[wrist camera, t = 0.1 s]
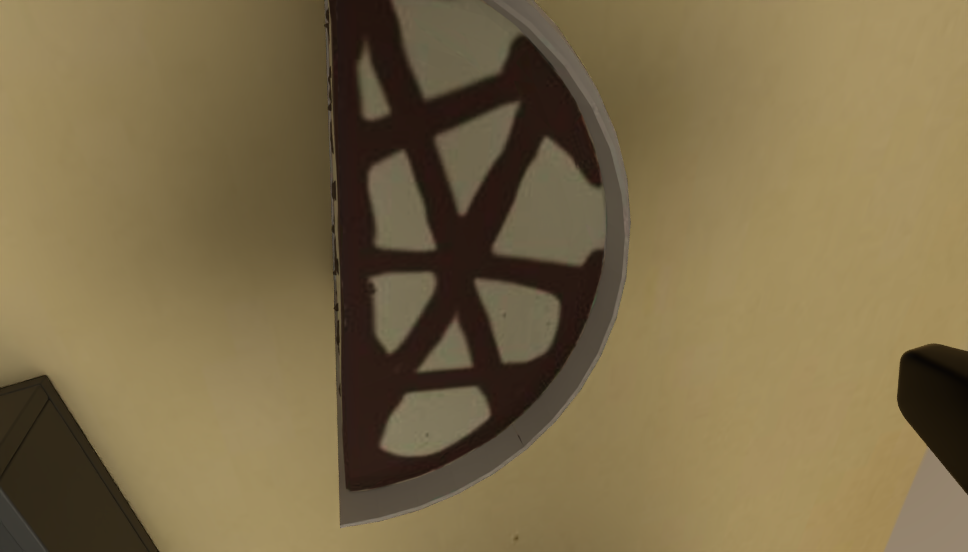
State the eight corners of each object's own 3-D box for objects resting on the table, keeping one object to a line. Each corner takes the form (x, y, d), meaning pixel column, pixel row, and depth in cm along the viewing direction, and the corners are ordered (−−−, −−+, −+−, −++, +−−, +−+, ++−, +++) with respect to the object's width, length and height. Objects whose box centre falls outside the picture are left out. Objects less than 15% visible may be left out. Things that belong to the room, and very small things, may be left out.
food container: (508, 314, 25) (610, 517, 16) (334, 322, 24) (340, 547, 15) (541, -65, 20) (719, -76, 11) (321, -83, 18) (318, -111, 10)
